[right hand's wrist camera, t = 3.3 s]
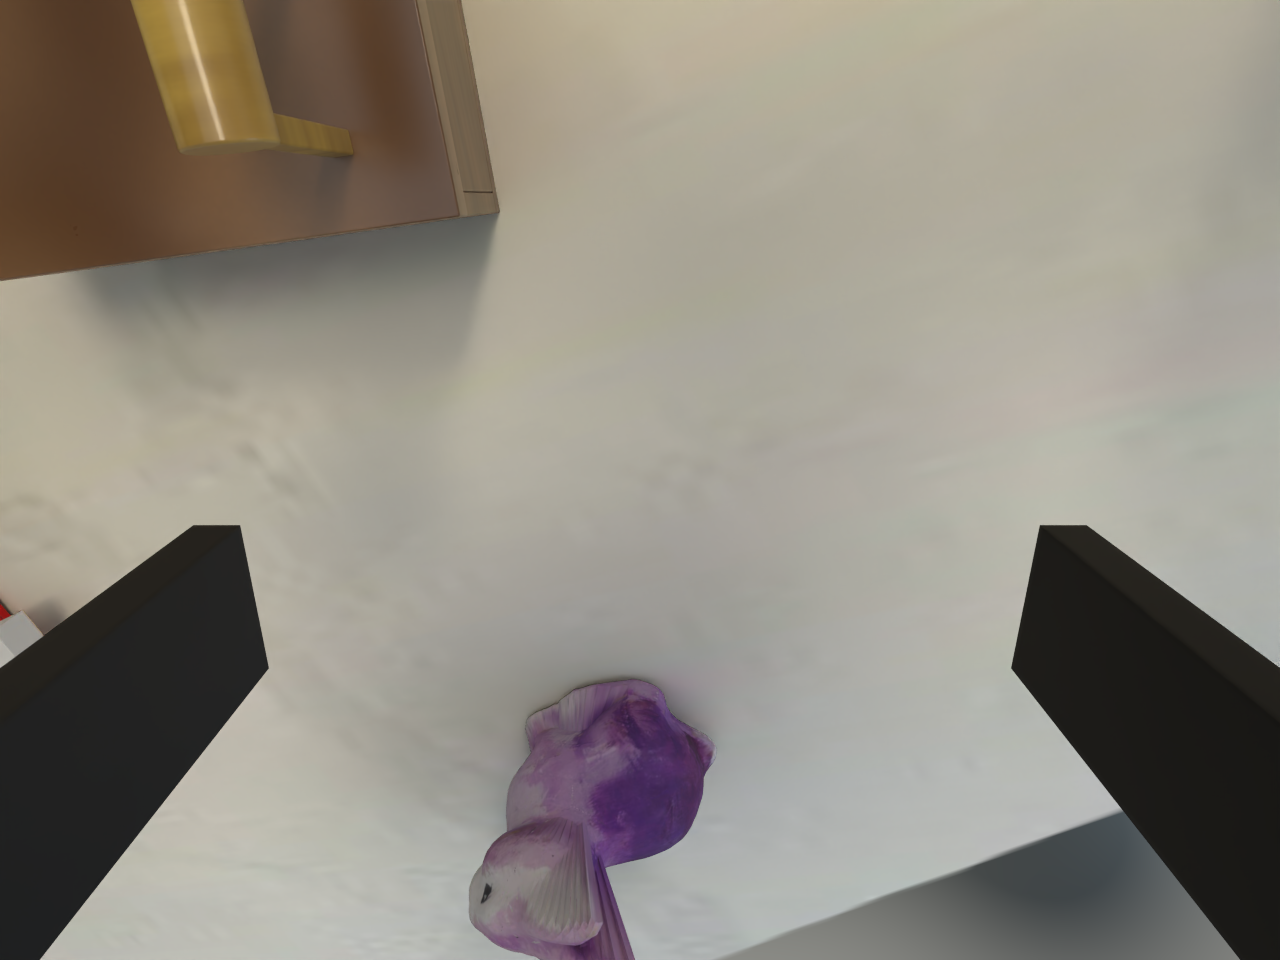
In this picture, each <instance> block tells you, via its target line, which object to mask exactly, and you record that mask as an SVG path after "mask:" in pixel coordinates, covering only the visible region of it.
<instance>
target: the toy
mask: <svg viewBox="0 0 1280 960" xmlns="http://www.w3.org/2000/svg"><path fill="white" fill-rule="evenodd" d="M43 636H44V635H43V634H42V633H41V631H40V630H39V629H38V628H37V627H36V625H35V624H34V623H33V622H32V621H31V619H30V618H29V617H28V616H27V615H26V614H25V612H24V611H23V610H22V611H20V612H18V613H16V614H14V615H12V616H11V615H10V614H9V613H8V612H7V611H6V610H5V609H4V607H3V606H2V605H1V604H0V668H1V667H2V666H3V665H5V664H6V663H8V662H9V661H10V660H12V659H13V658H14V657H16V656H17V655H18V654H20V653H21V652H22V651H24V650H25V649H27V648H28V647H29V646H31V645H32V644H33V643H35V642H36V641H37V640H39V639H40V638H41V637H43Z"/></svg>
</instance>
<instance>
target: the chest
mask: <svg viewBox="0 0 1280 960" xmlns="http://www.w3.org/2000/svg"><path fill="white" fill-rule="evenodd" d="M426 5H427V10H428V15H429V21H430V26H431V31H432V36H433V41H434V46H435V51H436V56H437V61H438V66H439V71H440V76H441V81H442V86H443V91H444V96H445V102H446V107H447V112H448V117H449V122H450V127H451V132H452V137H453V142H454V147H455V152H456V157H457V162H458V167H459V172H460V177H461V183H462V188H463V193H464V198H465V203H466V208H467V213H468V215H467V216H465V217H472V216H479V215H486V214H493V213H499V205H498V200H497V194H496V189H495V183H494V178H493V173H492V167H491V162H490V156H489V151H488V145H487V140H486V134H485V129H484V123H483V118H482V113H481V107H480V102H479V96H478V91H477V85H476V80H475V74H474V69H473V64H472V58H471V53H470V47H469V42H468V36H467V31H466V25H465V20H464V14H463V9H462V4H461V0H426ZM465 217H457V218H465ZM457 218H450V219H457ZM450 219H443V220H450ZM443 220H436V221H443ZM436 221H429V222H436ZM429 222H421V223H429ZM421 223H414V224H421ZM414 224H407V225H414ZM407 225H400V226H407ZM400 226H393V227H400ZM393 227H385V228H393ZM385 228H378V229H385ZM378 229H371V230H378ZM371 230H364V231H371ZM364 231H357V232H364ZM349 233H356V232H349ZM349 233H342V234H349ZM342 234H335V235H342ZM335 235H328V236H335ZM328 236H321V237H328ZM313 238H320V237H313ZM313 238H306V239H313ZM306 239H299V240H306ZM299 240H292V241H299ZM292 241H285V242H292ZM277 243H284V242H277ZM277 243H270V244H277ZM270 244H263V245H270ZM263 245H256V246H263ZM256 246H249V247H256ZM241 248H248V247H241ZM241 248H234V249H241ZM234 249H227V250H234ZM227 250H220V251H227ZM220 251H213V252H220ZM205 253H212V252H205ZM205 253H198V254H205ZM198 254H191V255H198ZM191 255H184V256H191ZM177 257H183V256H177ZM169 258H176V257H169ZM169 258H162V259H169ZM162 259H155V260H162ZM155 260H148V261H155ZM140 262H147V261H140ZM140 262H133V263H140ZM126 264H132V263H126ZM119 265H125V264H119ZM112 266H117V265H112ZM104 267H110V266H104ZM97 268H102V267H97ZM90 269H95V268H90ZM83 270H87V269H83ZM76 271H80V270H76ZM68 272H73V271H68ZM61 273H65V272H61ZM54 274H58V273H54ZM47 275H50V274H47ZM40 276H43V275H40ZM32 277H35V276H32ZM25 278H28V277H25ZM18 279H20V278H18ZM11 280H13V279H11ZM4 281H5V280H4Z"/></svg>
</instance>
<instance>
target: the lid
mask: <svg viewBox="0 0 1280 960" xmlns="http://www.w3.org/2000/svg"><path fill="white" fill-rule="evenodd" d="M467 215H468V213H467V208H466V203H465V198H464V193H463V188H462V183H461V177H460V172H459V167H458V162H457V157H456V152H455V147H454V142H453V137H452V132H451V127H450V122H449V117H448V112H447V107H446V102H445V96H444V91H443V86H442V81H441V76H440V71H439V66H438V61H437V56H436V51H435V46H434V41H433V36H432V31H431V26H430V21H429V15H428V10H427V5H426V0H0V281H4V280H11V279H18V278H25V277H32V276H40V275H47V274H54V273H61V272H68V271H76V270H83V269H90V268H97V267H104V266H112V265H119V264H126V263H133V262H140V261H148V260H155V259H162V258H169V257H177V256H184V255H191V254H198V253H205V252H213V251H220V250H227V249H234V248H241V247H249V246H256V245H263V244H270V243H277V242H285V241H292V240H299V239H306V238H313V237H321V236H328V235H335V234H342V233H349V232H357V231H364V230H371V229H378V228H385V227H393V226H400V225H407V224H414V223H421V222H429V221H436V220H443V219H450V218H457V217H465V216H467Z"/></svg>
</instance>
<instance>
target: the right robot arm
mask: <svg viewBox="0 0 1280 960" xmlns="http://www.w3.org/2000/svg"><path fill="white" fill-rule="evenodd" d="M268 669H269V667H268V662H267V657H266V652H265V647H264V642H263V637H262V632H261V627H260V622H259V617H258V612H257V607H256V602H255V597H254V592H253V587H252V582H251V577H250V572H249V567H248V562H247V557H246V552H245V547H244V543H243V538H242V533H241V528H240V525H193V526H192V527H190V528H189V529H188V530H186V531H185V532H184V533H182V534H181V535H180V536H178V537H177V538H176V539H174V540H173V541H172V542H170V543H169V544H167V545H166V546H165V547H163V548H162V549H161V550H159V551H158V552H157V553H155V554H154V555H153V556H151V557H150V558H148V559H147V560H146V561H144V562H143V563H142V564H140V565H139V566H138V567H136V568H135V569H134V570H132V571H131V572H130V573H128V574H127V575H125V576H124V577H123V578H121V579H120V580H119V581H117V582H116V583H115V584H113V585H112V586H111V587H109V588H108V589H106V590H105V591H104V592H102V593H101V594H100V595H98V596H97V597H96V598H94V599H93V600H92V601H90V602H89V603H87V604H86V605H85V606H83V607H82V608H81V609H79V610H78V611H77V612H75V613H74V614H73V615H71V616H70V617H69V618H67V619H66V620H64V621H63V622H62V623H60V624H59V625H58V626H56V627H55V628H54V629H52V630H51V631H50V632H48V633H47V634H45V635H44V636H43V637H41V638H40V639H39V640H37V641H36V642H35V643H33V644H32V645H31V646H29V647H28V648H27V649H25V650H24V651H22V652H21V653H20V654H18V655H17V656H16V657H14V658H13V659H12V660H10V661H9V662H8V663H6V664H5V665H3V666H2V667H1V668H0V960H40V959H41V957H42V956H43V955H44V954H45V952H46V951H47V950H48V948H49V947H50V946H51V945H52V943H53V942H54V941H55V940H56V938H57V937H58V936H59V934H60V933H61V932H62V931H63V929H64V928H65V927H66V926H67V924H68V923H69V922H70V921H71V919H72V918H73V917H74V915H75V914H76V913H77V912H78V910H79V909H80V908H81V907H82V905H83V904H84V903H85V901H86V900H87V899H88V898H89V896H90V895H91V894H92V893H93V891H94V890H95V889H96V887H97V886H98V885H99V884H100V882H101V881H102V880H103V879H104V877H105V876H106V875H107V873H108V872H109V871H110V870H111V868H112V867H113V866H114V865H115V863H116V862H117V861H118V859H119V858H120V857H121V856H122V854H123V853H124V852H125V851H126V849H127V848H128V847H129V845H130V844H131V843H132V842H133V840H134V839H135V838H136V837H137V835H138V834H139V833H140V831H141V830H142V829H143V828H144V826H145V825H146V824H147V823H148V821H149V820H150V819H151V817H152V816H153V815H154V814H155V812H156V811H157V810H158V809H159V807H160V806H161V805H162V803H163V802H164V801H165V800H166V798H167V797H168V796H169V795H170V793H171V792H172V791H173V789H174V788H175V787H176V786H177V784H178V783H179V782H180V781H181V779H182V778H183V777H184V775H185V774H186V773H187V772H188V770H189V769H190V768H191V767H192V765H193V764H194V763H195V761H196V760H197V759H198V758H199V756H200V755H201V754H202V753H203V751H204V750H205V749H206V747H207V746H208V745H209V744H210V742H211V741H212V740H213V739H214V737H215V736H216V735H217V733H218V732H219V731H220V730H221V728H222V727H223V726H224V725H225V723H226V722H227V721H228V719H229V718H230V717H231V716H232V714H233V713H234V712H235V711H236V709H237V708H238V707H239V705H240V704H241V703H242V702H243V700H244V699H245V698H246V697H247V695H248V694H249V693H250V691H251V690H252V689H253V688H254V686H255V685H256V684H257V683H258V681H259V680H260V679H261V677H262V676H263V675H264V674H265V672H266V671H267V670H268ZM1011 669H1012V670H1013V671H1014V672H1015V674H1016V675H1017V676H1018V677H1019V679H1020V680H1021V681H1022V683H1023V684H1024V685H1025V686H1026V688H1027V689H1028V690H1029V691H1030V693H1031V694H1032V695H1033V697H1034V698H1035V699H1036V700H1037V702H1038V703H1039V704H1040V705H1041V707H1042V708H1043V709H1044V711H1045V712H1046V713H1047V714H1048V716H1049V717H1050V718H1051V719H1052V721H1053V722H1054V723H1055V725H1056V726H1057V727H1058V728H1059V730H1060V731H1061V732H1062V733H1063V735H1064V736H1065V737H1066V739H1067V740H1068V741H1069V742H1070V744H1071V745H1072V746H1073V747H1074V749H1075V750H1076V751H1077V753H1078V754H1079V755H1080V756H1081V758H1082V759H1083V760H1084V761H1085V763H1086V764H1087V765H1088V767H1089V768H1090V769H1091V770H1092V772H1093V773H1094V774H1095V775H1096V777H1097V778H1098V779H1099V781H1100V782H1101V783H1102V784H1103V786H1104V787H1105V788H1106V789H1107V791H1108V792H1109V793H1110V795H1111V796H1112V797H1113V798H1114V800H1115V801H1116V802H1117V803H1118V805H1119V806H1120V807H1121V809H1122V810H1123V811H1124V812H1125V814H1126V815H1127V816H1128V817H1129V819H1130V820H1131V821H1132V823H1133V824H1134V825H1135V826H1136V828H1137V829H1138V830H1139V831H1140V833H1141V834H1142V835H1143V836H1144V838H1145V839H1146V840H1147V842H1148V843H1149V844H1150V845H1151V847H1152V848H1153V849H1154V850H1155V852H1156V853H1157V854H1158V856H1159V857H1160V858H1161V859H1162V861H1163V862H1164V863H1165V865H1166V866H1167V867H1168V868H1169V870H1170V871H1171V872H1172V873H1173V875H1174V876H1175V877H1176V879H1177V880H1178V881H1179V882H1180V884H1181V885H1182V886H1183V887H1184V889H1185V890H1186V891H1187V893H1188V894H1189V895H1190V896H1191V898H1192V899H1193V900H1194V901H1195V903H1196V904H1197V905H1198V906H1199V908H1200V909H1201V910H1202V912H1203V913H1204V914H1205V915H1206V917H1207V918H1208V919H1209V921H1210V922H1211V923H1212V924H1213V926H1214V927H1215V928H1216V929H1217V931H1218V932H1219V933H1220V935H1221V936H1222V937H1223V938H1224V940H1225V941H1226V942H1227V943H1228V945H1229V946H1230V947H1231V948H1232V950H1233V951H1234V952H1235V954H1236V955H1237V956H1238V957H1239V959H1240V960H1280V668H1279V667H1278V666H1277V665H1275V664H1274V663H1272V662H1271V661H1270V660H1268V659H1267V658H1266V657H1264V656H1263V655H1262V654H1260V653H1259V652H1258V651H1256V650H1255V649H1253V648H1252V647H1251V646H1249V645H1248V644H1247V643H1245V642H1244V641H1243V640H1241V639H1240V638H1239V637H1237V636H1236V635H1235V634H1233V633H1232V632H1230V631H1229V630H1228V629H1226V628H1225V627H1224V626H1222V625H1221V624H1220V623H1218V622H1217V621H1216V620H1214V619H1213V618H1211V617H1210V616H1209V615H1207V614H1206V613H1205V612H1203V611H1202V610H1201V609H1199V608H1198V607H1197V606H1195V605H1194V604H1193V603H1191V602H1190V601H1188V600H1187V599H1186V598H1184V597H1183V596H1182V595H1180V594H1179V593H1178V592H1176V591H1175V590H1174V589H1172V588H1171V587H1169V586H1168V585H1167V584H1165V583H1164V582H1163V581H1161V580H1160V579H1159V578H1157V577H1156V576H1155V575H1153V574H1152V573H1150V572H1149V571H1148V570H1146V569H1145V568H1144V567H1142V566H1141V565H1140V564H1138V563H1137V562H1136V561H1134V560H1133V559H1132V558H1130V557H1129V556H1127V555H1126V554H1125V553H1123V552H1122V551H1121V550H1119V549H1118V548H1117V547H1115V546H1114V545H1113V544H1111V543H1110V542H1108V541H1107V540H1106V539H1104V538H1103V537H1102V536H1100V535H1099V534H1098V533H1096V532H1095V531H1094V530H1092V529H1091V528H1090V527H1088V526H1087V525H1040V528H1039V533H1038V538H1037V543H1036V547H1035V552H1034V557H1033V562H1032V567H1031V572H1030V577H1029V582H1028V587H1027V592H1026V597H1025V602H1024V607H1023V612H1022V617H1021V622H1020V627H1019V632H1018V637H1017V642H1016V647H1015V652H1014V657H1013V662H1012V667H1011Z"/></svg>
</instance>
